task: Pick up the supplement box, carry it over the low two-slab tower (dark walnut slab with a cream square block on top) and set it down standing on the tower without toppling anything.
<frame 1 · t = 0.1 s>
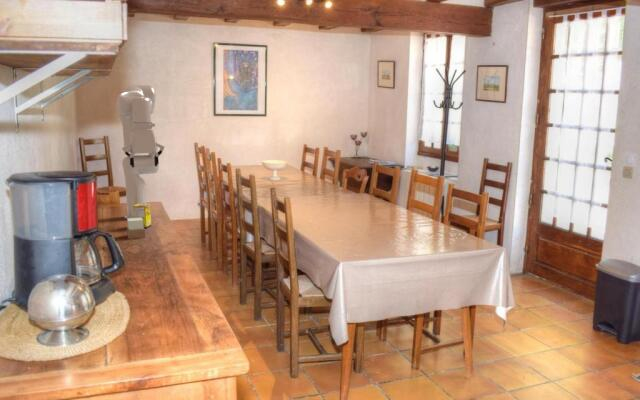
hand: (144, 166, 250), 31 cm above the table, fingers open, 9 cm apart
walnut slab: (136, 237, 257), on the table, touching cream square block
supplement box: (143, 227, 275), on the table
cream square block: (135, 228, 256), point 4 cm above the table, touching walnut slab
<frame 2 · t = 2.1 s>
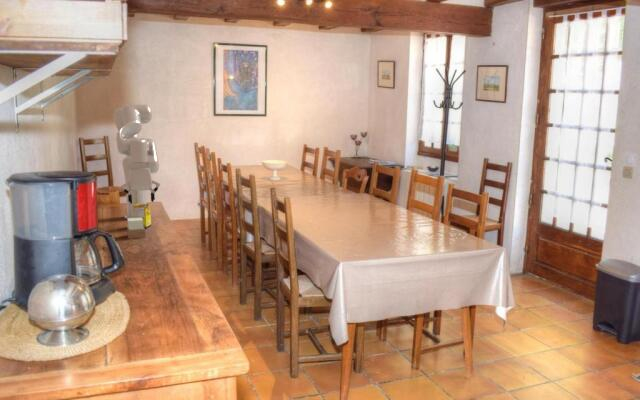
hand: (141, 202, 272), 12 cm above the table, fingers open, 9 cm apart
nothing on the table moved.
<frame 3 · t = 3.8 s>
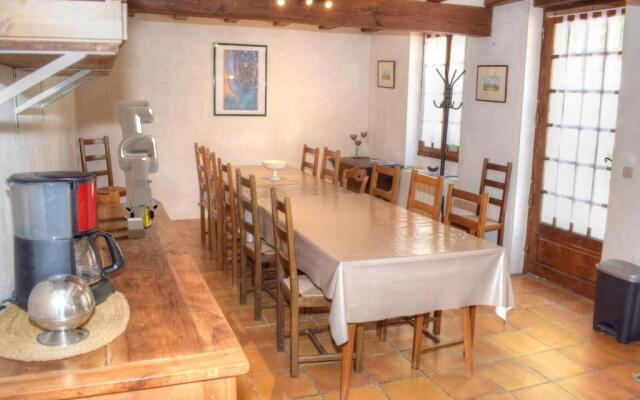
hand: (142, 219, 274), 4 cm above the table, fingers closed on supplement box, 8 cm apart
supplement box: (143, 227, 275), on the table, touching gripper
everything else where it was.
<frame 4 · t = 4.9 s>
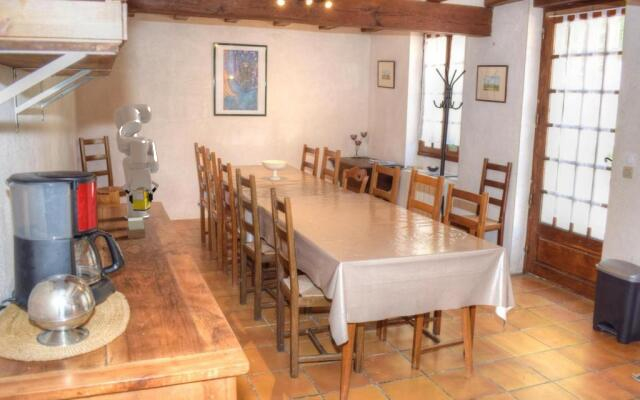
hand: (141, 202, 274), 12 cm above the table, fingers closed on supplement box, 8 cm apart
supplement box: (141, 210, 275), point 8 cm above the table, touching gripper
everything else where it was.
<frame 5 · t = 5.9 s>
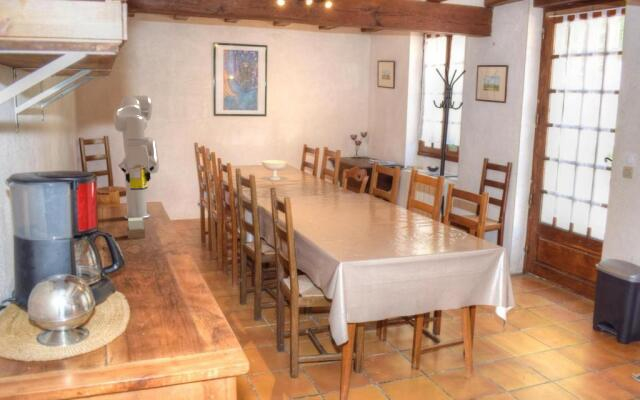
hand: (138, 181, 265), 23 cm above the table, fingers closed on supplement box, 8 cm apart
supplement box: (139, 189, 266), point 19 cm above the table, touching gripper
everything else where it was.
when the fingers open (12 cm above the table, at t = 9.0 s): supplement box moves 1 cm, resting on cream square block.
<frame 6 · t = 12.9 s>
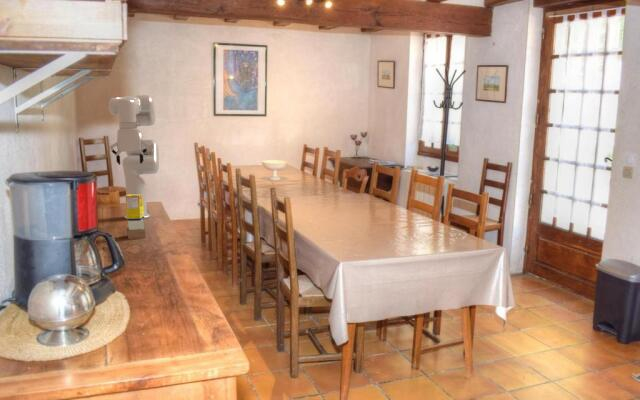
hand: (130, 163, 268), 30 cm above the table, fingers open, 9 cm apart
supplement box: (135, 219, 255), point 8 cm above the table, touching cream square block
cream square block: (136, 228, 256), point 4 cm above the table, touching supplement box, walnut slab
everything else where it was.
at the end: supplement box 0.2 cm off-centre on the walnut slab, point 7.8 cm above the walnut slab's base; supplement box tilted 1°; cream square block tilted 0° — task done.
